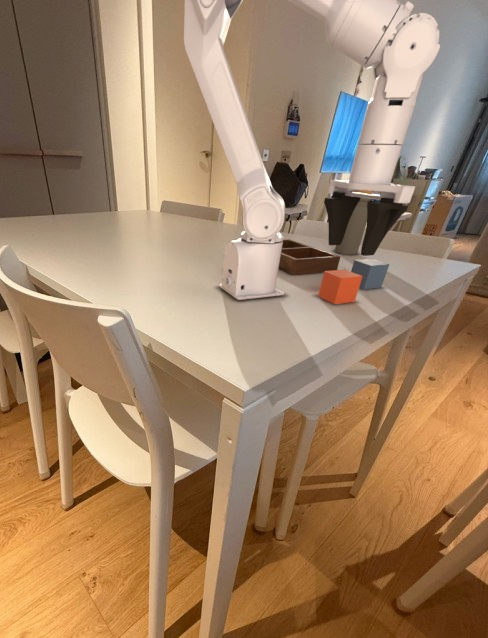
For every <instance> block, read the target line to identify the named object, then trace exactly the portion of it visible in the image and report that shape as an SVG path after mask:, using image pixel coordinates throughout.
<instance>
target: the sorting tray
mask: <svg viewBox="0 0 488 638" xmlns="http://www.w3.org/2000/svg"><path fill="white" fill-rule="evenodd" d="M340 260H341V255H339V254H338V255H337V254H335V253H331V252H330V251H326V250H324V249H320V248H317V247H314V246H311V245H309V244H305V243H302V242H299V241H296V240H293V239H291V238H287V239H285V238H284V239H283V245H282V250H281V256H280V262H279V268H278V270H281V271H283V272H285V273H288V274H290V275H292V276H297V275H298V276H299V275H308V274H318V273H324V271H332V270H338V267H339V264H340Z"/></svg>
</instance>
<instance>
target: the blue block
mask: <svg viewBox="0 0 488 638" xmlns="http://www.w3.org/2000/svg"><path fill="white" fill-rule="evenodd" d="M389 267H390V263H387V262H383V261H380V260H377V259H374V258H363V259H354V260H353V264H352V267H351V271H350V272H353V273H356V274H358V275H361V276H363V277H362V280H361V283H360V286H359V289H361V290H363V291H364V290H373V289H380V288H381V289H382V286H383V283H384V281H385V278H386V275H387V272H388V271H389Z"/></svg>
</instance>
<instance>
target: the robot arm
mask: <svg viewBox="0 0 488 638" xmlns="http://www.w3.org/2000/svg"><path fill="white" fill-rule="evenodd" d="M243 1H244V0H184V9H183V10H184V12H183V13H184V14H183V15H184V16H183V45H184V50H185V53H186V56H187V58H188V61H189V64H190V66H191V69H192V71H193V74H194V77H195V79H196V81H197V84H198V87H199V90H200V92H201V94H202V98H203V100H204V102H205V105H206V108H207V110H208V113H209V115H210V119H211V121H212V123H213V126H214V129H215V131H216V134H217V137H218V140H219V141H220V144H221V146H222V149H223V152H224V155H225V157H226V160H227V163H228V165H229V167H230V170H231V173H232V176H233V178H234V181H235V183H236V186H237V193H238V197H239V201H240V204H241V206H242V226H243V230H244V231H242V232H241V233H240V237H239V238H238V239H236V240H231V241H229V242H227V243H226V245H225V248H224V252H223V260H222V273H221V274H222V275H221V283H219V287H220V288H221V289H222V290H223V291H225V292H226V293H227V294H229V295H230V296H232V297H233V298H234V299H236V300H238V301H241V300H251V299H260V298H261V299H262V298H269V297H278V296H279V297H280V296H284V295H285V291H283V290H281V289H279V288H278V287H277V286H276V285H277V279H278V273H279V262H280V256H281V250H282V245H283V240H284V239H285V237H284V235H282V234H281V233H280V231H281V229H282V228H283V225H284V223H285V217H286V215H285V213H286V204H285V201H284V199H283V197H282V196H281V195H280V194H279V193H278V192H277V191H276V190H275V188H274V187H273V185H272V182H271V180H270V177H269V174H268V173H267V170H266V167H265V165H264V161H263V159H262V156H261V153H260V150H259V147H258V144H257V141H256V138H255V136H254V132H253V129H252V127H251V124H250V121H249V119H248V114H247V112H246V110H245V106H244V103H243V101H242V98H241V94H240V91H239V90H238V86H237V84H236V80H235V77H234V75H233V72H232V68H231V66H230V63H229V60H228V57H227V55H226V54H227V53H226V51H225V48H224V45H225V42H226V38H227V35H228V31H229V29H230V25H231V22H232V19H233V18H234V16H235V15H236V12H237V11H238V10H239V8H240V6H241V4H242V2H243ZM287 2H289V3H291V4H292V5H294V6H296V7H297V8H299V9H301V10H303V11H304V12H306V13H308V14H310V15H311V16H313V17H315V18H316V19H319V20H320V21H321V22H323V24H324V27H325V39H326V42H327V44H328V45H330V46H332V47H334V48H335V49H336V50H338V51H339V52H341V53H342V54H344V55H345V56H347V57H348V58H350V59H351V60H353V61H354V62H356V63H357V64H359V65H360V66H362V67H363V68H364V69H367V70H368V69H372V74H373V79H374V84H373V88H372V92H371V96H370V99H369V102H368V103H367V105H366V109H365V114H364V117H363V122H362V126H361V130H360V132H359V133H360V134H359V138H358V141H357V145H356V150H355V154H354V159H353V161H352V166H351V170H350V174H349V178H348V180H345V179H344V180H343V179H331V180H330V183H329V187H328V191H327V194H328V195H331V196H330V197H329V196H327V197H324V200H323V203H324V207H325V210H326V215H327V222H328V223H327V224H328V225H327V226H328V246H336V245H341V243H342V240H343V238H344V235H345V232H346V229H347V225H348V222H349V220H350V218H351V215H352V213H353V211H354V209H355V207H356V206H357V204H358V202H359V201H360V199H361V198H369V199H372V200H376V201H369V202H368V203H367V223H366V226H365V231H364V235H363V239H362V245H361V249H360V256H364V257H367V256H375V254H376V252H377V251H378V249H379V247H380V245H381V244H382V242H383V240H384V239H385V237H386V235H388V233H389V231H390V230H391V229H392V228H393V226H394V225H395V224H396V222H398V220H399V219H400V218H401V217H402V216H403V215H404V214H405V213H406V212H407V210H408V208H409V204H410V203H411V200H412V197H413V195H414V193H415V189H416V186H413V185H405V184H399V183H398V184H397V183H394V182H392V180H393V176H394V173H395V170H396V166H397V163H398V161H399V157H400V153H401V151H402V148H403V145H404V141H405V138H406V135H407V131H408V129H409V125H410V122H411V119H412V117H413V116H412V115H413V113H414V109H415V107H416V102H417V97H418V93H419V90H420V87H421V84H422V81H423V77H424V73H425V72H426V71H427V70H428V69H429V68H430V66H431V65H432V64H433V62H434V61H435V59H436V57H437V55H438V54H439V51H440V49H441V44H439V43H440V29H438V26H439V24H438V22H437V20H436V19H435V17H434V16H433V15H431V14H429V13H425V12H419V13H414V14H412V11H413V10H414V8H415V5H414V4H413V3H412V2H410V1H409V0H407V1H406V2H405V4H402V3H401V2H399V1H398V0H287ZM411 14H412V15H411ZM361 190H365V191H373V192H372V194H364V193H355V192H353V191H361ZM377 200H378V201H377Z"/></svg>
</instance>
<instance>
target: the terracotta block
mask: <svg viewBox="0 0 488 638" xmlns="http://www.w3.org/2000/svg"><path fill="white" fill-rule="evenodd" d="M362 277H363V276H361V275H358V274H356V273H353V272H351V271H350V270H348V269H345V268H344V269H337V270H332V271H324V272H323V275H322V278H321V283H320V287H319V291H318V295H317V296H318V297H319V298H321V299H322V300H324V301H327V302H329V303H330V304H333V305H340V304H347V303H354V302H356V299H357V296H358V292H359V289H360V288H359V286H360V283H361V280H362Z"/></svg>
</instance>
